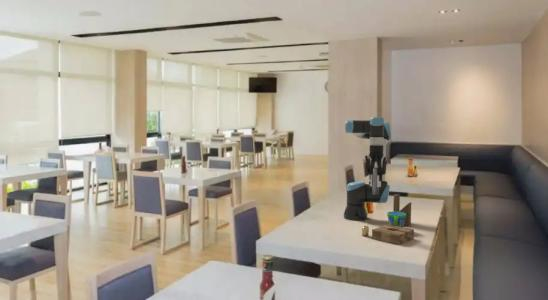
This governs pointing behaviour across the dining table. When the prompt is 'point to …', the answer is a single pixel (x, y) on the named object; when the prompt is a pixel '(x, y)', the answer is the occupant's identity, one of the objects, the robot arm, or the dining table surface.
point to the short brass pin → (365, 231)
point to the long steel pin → (375, 181)
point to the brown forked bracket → (405, 210)
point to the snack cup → (396, 218)
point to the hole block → (393, 234)
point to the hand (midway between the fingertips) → (375, 186)
